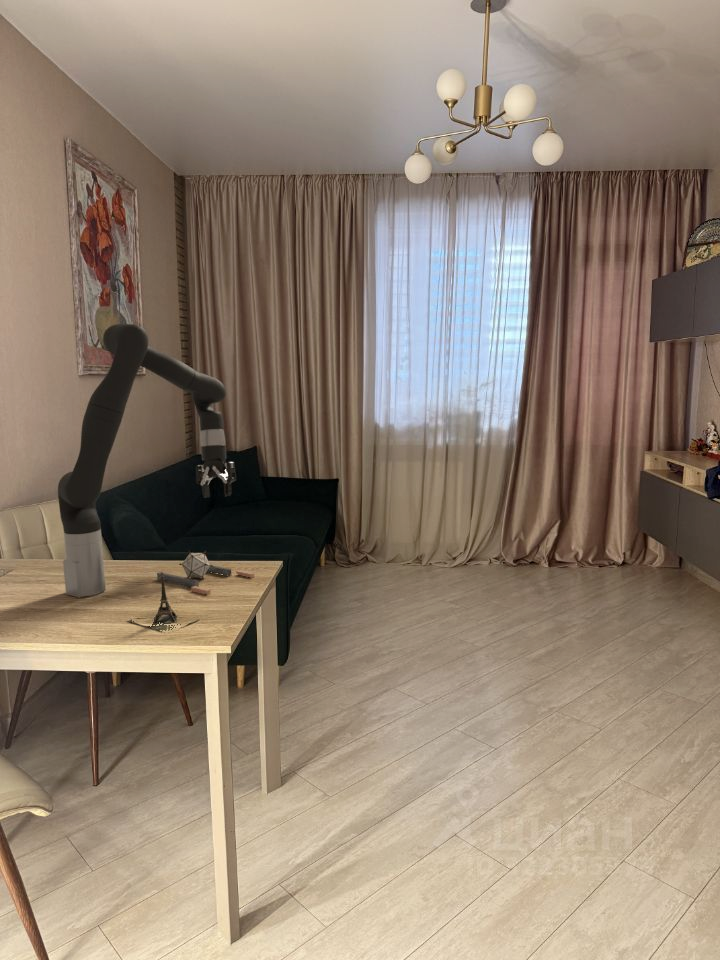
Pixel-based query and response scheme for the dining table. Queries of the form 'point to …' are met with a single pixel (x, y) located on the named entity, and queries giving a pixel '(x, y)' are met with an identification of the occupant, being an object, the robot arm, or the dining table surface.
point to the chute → (191, 582)
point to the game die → (196, 565)
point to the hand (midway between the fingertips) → (217, 496)
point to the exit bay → (207, 591)
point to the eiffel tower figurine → (163, 613)
